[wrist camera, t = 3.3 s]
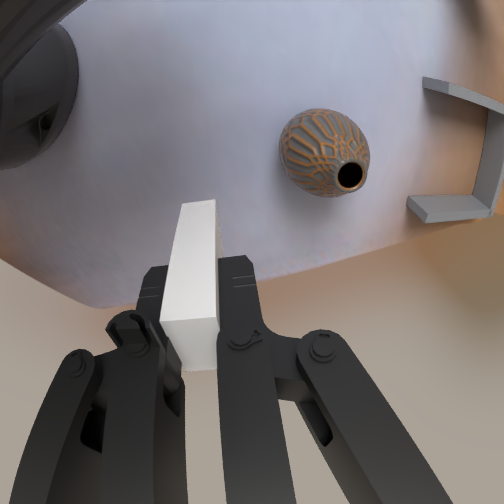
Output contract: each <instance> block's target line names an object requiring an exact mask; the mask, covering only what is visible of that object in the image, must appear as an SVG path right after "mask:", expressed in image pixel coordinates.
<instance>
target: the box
mask: <svg viewBox="0 0 504 504" xmlns="http://www.w3.org/2000/svg"><path fill="white" fill-rule="evenodd" d="M423 87H424V88H428V89H432V90H435V91H439V92H442V93H446V94H449V95H453V96H456V97H459V98H462V99H465V100H468V101H471V102H474V103H476V104H479V105H482V106H484V107H487V108H489V109H488V118H487V126H486V133H485V139H484V145H483V151H482V156H481V161H480V165H479V170H478V174H477V178H476V182H475V186H474V190H473V193H472V195H429V196H408V201H407V206H408V207H409V208H410V209H411V210H412V211H413V212H414V213H415V214H416V215H417V216H418V217H419V218H420V219H421V220H422V221H423V222H424V223H435V222H445V221H455V220H466V219H477V218H486V217H492V215H493V212H494V209H495V206H496V203H497V200H498V197H499V193H500V190H501V186H502V183H503V179H504V104H502V103H499V102H497V101H495V100H493V99H491V98H488V97H486V96H484V95H481V94H479V93H477V92H474V91H472V90H469V89H466V88H464V87H461V86H458V85H455V84H452V83H450V82H446V81H441V80H437V79H432V78H427V77H423Z"/></svg>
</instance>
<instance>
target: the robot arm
mask: <svg viewBox="0 0 504 504" xmlns="http://www.w3.org/2000/svg"><path fill="white" fill-rule="evenodd" d="M85 1H87V0H0V170H3V169H9V168H14V167H18V166H20V165H23V164H25V163H27V162H28V161H30V160H31V159H33V158H34V157H36V156H37V155H39V154H40V153H42V152H43V151H44V150H46V149H47V148H48V147H49V146H50V145H51V144H52V143H53V142H54V140H55V139H56V138H57V137H58V135H59V134H60V132H61V130H62V129H63V127H64V125H65V123H66V121H67V119H68V117H69V114H70V112H71V109H72V106H73V103H74V99H75V95H76V90H77V82H78V60H77V54H76V50H75V46H74V44H73V41H72V39H71V37H70V35H69V34H68V32H67V31H66V30H65V29H64V28H63V27H62V26H61V25H59V24H58V23H59V22H60V21H61V20H62V19H63V18H65V17H66V16H67V15H68V14H70V13H71V12H72V11H73V10H75V9H76V8H77V7H79V6H80V5H81V4H83V3H84V2H85ZM105 330H106V332H107V333H108V334H109V336H110V337H111V339H112V340H113V342H114V343H115V344H116V346H117V347H118V348H117V349H115V350H113V351H110V352H107V353H104V354H101V355H97V356H93V355H92V354H91V353H90V352H89V351H87V350H85V349H77V350H74V351H72V352H71V353H69V354H68V355H67V356H66V357H65V358H64V360H63V361H62V363H61V365H60V367H59V369H58V371H57V373H56V375H55V377H54V379H53V381H52V383H51V385H50V387H49V389H48V392H47V394H46V396H45V398H44V400H43V403H42V405H41V407H40V410H39V412H38V414H37V417H36V419H35V422H34V425H33V427H32V429H31V432H30V435H29V437H28V440H27V443H26V446H25V449H24V452H23V455H22V458H21V461H20V464H19V467H18V470H17V474H16V477H15V481H14V485H13V489H12V493H11V497H10V502H9V504H188V493H187V478H186V452H185V385H184V381H183V379H182V377H181V364H182V366H183V368H184V370H185V371H202V370H217V378H218V399H219V414H220V415H219V416H220V431H221V444H222V458H223V470H224V481H225V491H226V501H227V504H296V498H295V493H294V487H293V481H292V476H291V470H290V465H289V459H288V453H287V447H286V442H285V436H284V431H283V425H282V419H281V414H280V408H279V402H278V399H281V400H288V401H294V402H295V404H296V406H297V407H298V409H299V411H300V413H301V415H302V417H303V419H304V421H305V423H306V425H307V427H308V429H309V431H310V432H311V434H312V436H313V438H314V440H315V442H316V444H317V445H318V447H319V449H320V451H321V453H322V455H323V457H324V458H325V460H326V462H327V464H328V466H329V468H330V469H331V471H332V473H333V475H334V477H335V478H336V480H337V482H338V484H339V486H340V487H341V489H342V491H343V493H344V494H345V496H346V498H347V500H348V501H349V503H350V504H453V503H452V501H451V499H450V498H449V496H448V495H447V493H446V491H445V490H444V488H443V487H442V485H441V483H440V482H439V480H438V478H437V477H436V475H435V474H434V472H433V470H432V469H431V467H430V466H429V464H428V463H427V461H426V459H425V458H424V456H423V455H422V453H421V452H420V451H419V449H418V447H417V446H416V444H415V443H414V441H413V440H412V438H411V436H410V435H409V433H408V432H407V431H406V429H405V427H404V426H403V424H402V423H401V421H400V420H399V418H398V417H397V415H396V414H395V412H394V411H393V409H392V408H391V406H390V405H389V403H388V402H387V401H386V399H385V397H384V396H383V395H382V393H381V392H380V390H379V389H378V387H377V386H376V384H375V383H374V381H373V380H372V378H371V377H370V376H369V374H368V373H367V371H366V370H365V368H364V367H363V366H362V364H361V363H360V361H359V360H358V358H357V357H356V355H355V354H354V353H353V351H352V350H351V348H350V347H349V345H348V344H347V343H346V341H345V340H344V339H343V338H342V337H341V336H340V335H339V334H337V333H335V332H332V331H330V330H321V329H320V330H315V331H311V332H309V333H308V334H306V335H305V336H303V337H302V339H299V338H291V337H285V336H280V335H278V334H276V333H274V332H272V331H271V330H269V329H268V328H267V327H266V325H265V324H264V322H263V319H262V314H261V309H260V303H259V297H258V291H257V286H256V280H255V274H254V268H253V263H252V262H251V261H250V260H249V259H248V258H247V257H246V255H243V256H234V257H226V258H223V245H222V239H221V233H220V226H219V220H218V213H217V206H216V199H213V200H205V201H198V202H190V203H183V204H182V207H181V211H180V216H179V220H178V224H177V229H176V233H175V238H174V243H173V248H172V252H171V257H170V263H169V265H165V266H157V267H151V268H150V270H149V271H148V272H147V274H146V275H145V276H144V278H143V282H142V286H141V290H140V294H139V298H138V302H137V307H136V310H128V311H123V312H121V313H120V314H118V315H116V316H114V318H112V320H111V321H110V322H109V323H108V325H107V327H106V329H105Z"/></svg>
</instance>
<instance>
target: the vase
mask: <svg viewBox="0 0 504 504" xmlns="http://www.w3.org/2000/svg"><path fill="white" fill-rule="evenodd" d="M279 154H280V159H281V162H282V165H283V167H284V169H285V171H286V173H287V174H288V176H289V177H290V178H291V180H292V181H293V182H294V183H295V184H296V185H298V186H299V187H300V188H302V189H303V190H305V191H307V192H309V193H311V194H314V195H317V196H321V197H338V196H342V195H345V194H347V193H351V192H354V191H357V190H358V189H360V188H361V187H362V186H363V184H364V183H365V181H366V178H367V171H368V168H369V163H370V151H369V146H368V143H367V140H366V138H365V136H364V134H363V133H362V131H361V130H360V128H359V127H358V126H357V125H356V124H355V123H354V122H353V121H352V120H351V119H349V118H348V117H347V116H345V115H343V114H341V113H339V112H336V111H333V110H329V109H311V110H307V111H304V112H302V113H300V114H298V115H296V116H295V117H294V118H292V119H291V120H290V121H289V122H288V124H287V125H286V126H285V128H284V130H283V132H282V134H281V137H280V142H279Z"/></svg>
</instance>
